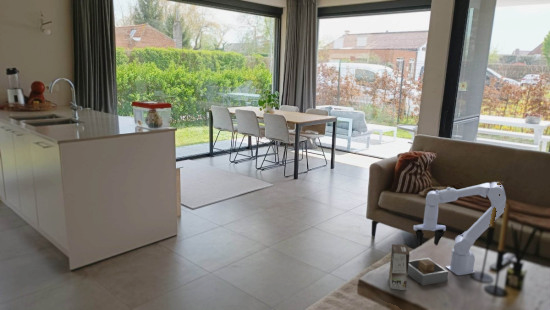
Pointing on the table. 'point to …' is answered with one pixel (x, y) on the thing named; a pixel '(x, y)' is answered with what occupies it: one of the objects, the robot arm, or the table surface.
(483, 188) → the robot arm
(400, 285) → the coffee box
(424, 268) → the tan block
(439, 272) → the gray bin
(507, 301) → the table surface
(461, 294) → the table surface
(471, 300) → the table surface
